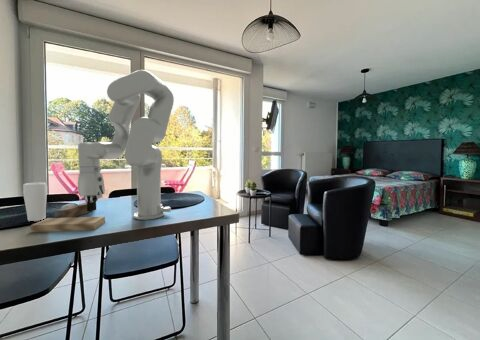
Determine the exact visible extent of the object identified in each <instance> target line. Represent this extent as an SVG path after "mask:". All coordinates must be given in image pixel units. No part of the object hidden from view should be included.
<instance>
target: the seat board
mask: <svg viewBox="0 0 480 340" xmlns="http://www.w3.org/2000/svg"><path fill="white" fill-rule="evenodd" d="M105 223H106V216H80V217H79V216H76V217H71V218H55V217H47V218H45V219H44V220H41V221H36V223H32V224H31V225H30V232H31V233H47V232H49V233H50V232H71V231H72V232H74V231H75V232H76V231H77V232H78V231H95V230H97V229H98V228H100V227H101V226H103V225H104V224H105Z"/></svg>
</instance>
